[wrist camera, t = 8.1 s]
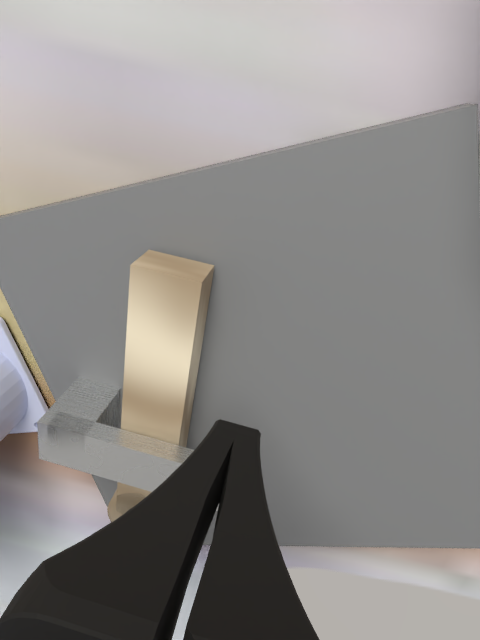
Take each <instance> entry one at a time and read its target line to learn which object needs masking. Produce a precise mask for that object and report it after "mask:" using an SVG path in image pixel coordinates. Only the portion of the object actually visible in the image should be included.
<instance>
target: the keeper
mask: <svg viewBox="0 0 480 640" xmlns="http://www.w3.org/2000/svg"><path fill="white" fill-rule="evenodd" d="M119 406H120V388H117V387H114V386H110V385H106V384H103V383H99V382H95V381H92V380H88V379H85V378H81V377H78V378H77V379H76V381H75V382H74V383H73V384H72V385H71V386H70V387H69V388H68V389H67V390H66V391H65V392H64V393H63V395H62V396H61V397H60V398H59V399H58V400H57V401H56V402H55V403H54V404H53V405H52V406H51V408H50V409H49V410H48V411H47V412H46V413H45V414H44V415H43V416H42V417H41V418H40V419H39V420H38V422H37V428H38V446H39V459H42V460H45V461H49V462H52V463H55V464H59V465H62V466H66V467H69V468H72V469H76V470H79V471H82V472H86V473H89V474H93V475H96V476H99V477H103V478H106V479H109V480H113V481H116V482H120V483H123V484H126V485H130V486H133V487H137V488H140V489H143V490H147V491H150V492H153V491H154V490H155V489H156V488H157V487H158V486H159V485H161V484H162V483H163V482H164V481H165V480H166V479H167V478H168V477H169V476H170V475H171V474H172V473H173V472H174V471H175V470H176V469H177V468H178V467H179V466H180V465H181V464H182V463H183V462H184V461H185V460H186V459H187V458H188V457H189V456H190V454H191V453H192V452H193V451H194V450H193V449H189V448H186V447H182V446H179V445H175V444H172V443H168V442H165V441H161V440H158V439H154V438H151V437H147V436H144V435H140V434H136V433H133V432H129V431H126V430H122V429H119V428H115V427H116V425H117V424H118V422H119ZM218 506H219V504H218ZM216 511H218V507H217V509H216Z"/></svg>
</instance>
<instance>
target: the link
mask: <svg viewBox="0 0 480 640" xmlns="http://www.w3.org/2000/svg"><path fill="white" fill-rule="evenodd" d="M213 272H214V265H211V264H207V263H203V262H199V261H194V260H190V259H186V258H182V257H178V256H174V255H169V254H165V253H161V252H157V251H153V250H148V251H147V252H145V253H144V254H143V255H142V256H141V257H139V258H138V259H137V260H136V261H134V262H133V263H132V264H131V265H130V280H129V297H128V314H127V331H126V347H125V364H124V381H123V398H122V415H121V429H122V430H126V431H129V432H133V433H136V434H140V435H144V436H147V437H151V438H154V439H158V440H161V441H165V442H168V443H172V444H175V445H179V446H182V447H186V445H187V438H188V432H189V426H190V419H191V413H192V406H193V400H194V393H195V387H196V381H197V374H198V368H199V361H200V355H201V349H202V342H203V336H204V329H205V323H206V317H207V310H208V304H209V297H210V291H211V285H212V278H213ZM150 493H151V492H150V491H147V490H143V489H140V488H137V487H133V486H130V485H126V484H123V483H120V482H118V483H117V490H116V492H115V493H114V495H113V497H112V499H111V500H110V502H109V504H108V509H107V510H108V516H109V519H110V520H111V522H113V521H114V520H116V519H117V518H119V517H120V516H122V515H123V514H124V513H126V512H127V511H128V510H130V509H131V508H132V507H134V506H135V505H136V504H138V503H139V502H140V501H142V500H143V499H144V498H145V497H147V496H148V495H149V494H150Z"/></svg>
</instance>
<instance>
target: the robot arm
mask: <svg viewBox="0 0 480 640" xmlns="http://www.w3.org/2000/svg"><path fill="white" fill-rule="evenodd" d="M48 410H49V409H48V407H47V405H46V403H45V401H44V399H43V397H42V395H41V393H40V391H39V389H38V387H37V385H36V383H35V381H34V379H33V377H32V375H31V373H30V371H29V369H28V367H27V365H26V363H25V361H24V359H23V357H22V355H21V353H20V351H19V349H18V347H17V345H16V343H15V341H14V339H13V337H12V335H11V333H10V331H9V329H8V327H7V325H6V323H5V321H4V320H3V319H2V318H1V317H0V441H1V440H2V439H3V438H4V437H5V436H6V435H7V434H12V433H26V432H38V428H37V422H38V420H39V419H40V418H41V417H42V416H43V415H44V414H45V413H46V412H47V411H48ZM260 437H261V433H260V432H259V430H257V429H254V428H250V427H246V426H243V425H239V424H236V423H232V422H228V421H225V420H221V419H219V420H217V421H215V423H214V425H213V427H212V428H211V430H210V431H209V432H208V434H207V435H206V437H205V438H204V439H203V440H202V442H201V443H200V444H199V445H198V447H197V448H196V449H195V450H194V451H193V452H192V453H191V454H190V456H189V457H188V458H187V459H186V460H185V461H184V462H183V463H182V464H181V465H180V466H179V467H178V468H177V469H176V470H175V471H174V472H173V473H172V474H171V475H170V476H169V477H168V478H167V479H166V480H165V481H164V482H163V483H162V484H161V485H159V486H158V487H157V488H156V489H155V490H154V491H153V492H151V493H150V494H149V495H148V496H147V497H145V498H144V499H143V500H142V501H140V502H139V503H138V504H136V505H135V506H134V507H132V508H131V509H130V510H128V511H127V512H126V513H124V514H123V515H122V516H120V517H119V518H117V519H116V520H114V521H113V522H111V523H110V524H108V525H107V526H105V527H103V528H102V529H100V530H99V531H97V532H95V533H94V534H92V535H91V536H89V537H87V538H86V539H84V540H82V541H81V542H79V543H77V544H75V545H73V546H71V547H70V548H68V549H66V550H64V551H62V552H60V553H58V554H56V555H54V556H52V557H50V558H49V559H47V560H45V561H43V562H42V563H41V564H40V565H39V567H38V568H37V569H36V570H35V571H34V572H33V573H32V574H31V576H30V577H29V578H28V579H27V580H26V582H25V583H24V584H23V585H22V587H21V588H20V589H19V590H18V592H17V593H16V594H15V596H14V597H13V599H12V601H11V602H10V604H9V605H8V607H7V608H6V610H5V612H4V613H3V615H2V616H1V618H0V640H172V636H173V633H174V629H175V626H176V623H177V619H178V616H179V612H180V609H181V606H182V602H183V599H184V596H185V592H186V589H187V585H188V582H189V580H190V577H191V574H192V571H193V568H194V566H195V563H196V561H197V558H198V555H199V553H200V550H201V548H202V545H203V543H204V540H205V538H206V535H207V533H208V530H209V527H210V525H211V522H212V520H213V517H214V515H215V512H216V509H217V507H218V512H217V517H216V523H215V528H214V533H213V539H212V543H211V546H210V550H209V553H208V557H207V560H206V563H205V567H204V570H203V573H202V577H201V580H200V583H199V587H198V590H197V593H196V596H195V600H194V603H193V606H192V610H191V613H190V616H189V619H188V623H187V626H186V630H185V634H184V639H183V640H319V638H318V636H317V634H316V632H315V631H314V629H313V627H312V625H311V623H310V621H309V619H308V617H307V615H306V612H305V610H304V608H303V606H302V604H301V602H300V599H299V597H298V595H297V593H296V590H295V588H294V585H293V583H292V580H291V578H290V575H289V573H288V570H287V568H286V565H285V563H284V560H283V557H282V554H281V551H280V548H279V545H278V542H277V539H276V536H275V532H274V529H273V525H272V521H271V517H270V513H269V509H268V505H267V500H266V495H265V490H264V483H263V477H262V469H261V458H260ZM218 504H219V506H218Z"/></svg>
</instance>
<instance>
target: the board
mask: <svg viewBox="0 0 480 640" xmlns="http://www.w3.org/2000/svg"><path fill="white" fill-rule="evenodd" d="M148 250H153V251H157V252H161V253H165V254H169V255H174V256H178V257H182V258H186V259H190V260H194V261H199V262H203V263H207V264H211V265H214V272H213V278H212V285H211V291H210V297H209V304H208V310H207V317H206V323H205V329H204V336H203V342H202V349H201V355H200V361H199V368H198V374H197V381H196V387H195V393H194V400H193V406H192V413H191V419H190V426H189V432H188V438H187V445H186V448H189V449H193V450H195V449H196V448H197V447H198V445H199V444H200V443H201V442H202V440H203V439H204V438H205V437H206V435H207V434H208V432H209V431H210V430H211V428H212V427H213V425H214V423H215V421H217V420H219V419H221V420H225V421H228V422H232V423H236V424H239V425H243V426H246V427H250V428H254V429H257V430H259V432H260V433H261V437H260V458H261V469H262V477H263V483H264V490H265V495H266V500H267V505H268V509H269V513H270V517H271V521H272V525H273V529H274V532H275V536H276V539H277V542H278V545H279V546H332V547H410V548H480V185H479V141H478V104H463V105H459V106H455V107H450V108H446V109H442V110H438V111H434V112H430V113H425V114H421V115H417V116H413V117H409V118H405V119H401V120H396V121H392V122H388V123H384V124H380V125H376V126H372V127H367V128H363V129H359V130H355V131H351V132H347V133H343V134H338V135H334V136H330V137H326V138H322V139H318V140H313V141H309V142H305V143H301V144H297V145H293V146H289V147H284V148H280V149H276V150H272V151H268V152H264V153H260V154H255V155H251V156H247V157H243V158H239V159H235V160H231V161H226V162H222V163H218V164H214V165H210V166H206V167H201V168H197V169H193V170H189V171H185V172H181V173H177V174H172V175H168V176H164V177H160V178H156V179H152V180H148V181H143V182H139V183H135V184H131V185H127V186H123V187H119V188H114V189H110V190H106V191H102V192H98V193H94V194H89V195H85V196H81V197H77V198H73V199H69V200H65V201H60V202H56V203H52V204H48V205H44V206H40V207H36V208H31V209H27V210H23V211H19V212H15V213H11V214H7V215H2V216H0V288H1V290H2V292H3V294H4V296H5V298H6V300H7V302H8V304H9V306H10V309H11V311H12V313H13V315H14V317H15V319H16V321H17V323H18V325H19V327H20V329H21V331H22V333H23V335H24V337H25V339H26V341H27V343H28V345H29V347H30V349H31V351H32V354H33V356H34V358H35V360H36V362H37V364H38V366H39V368H40V370H41V372H42V374H43V376H44V378H45V380H46V382H47V384H48V386H49V388H50V390H51V392H52V394H53V396H54V399H55V401H57V400H58V399H59V398H60V397H61V396H62V395H63V393H64V392H65V391H66V390H67V389H68V388H69V387H70V386H71V385H72V384H73V383H74V382H75V381H76V379H77V378H78V377H81V378H85V379H88V380H92V381H95V382H99V383H103V384H106V385H110V386H114V387H117V388H120V406H119V422H118V424H117V425H116V427H115V428H119V429H121V415H122V398H123V381H124V364H125V347H126V331H127V314H128V297H129V280H130V265H131V264H132V263H133V262H134V261H136V260H137V259H138V258H139V257H141V256H142V255H143V254H144V253H145V252H147V251H148ZM92 476H93V478H94V480H95V482H96V484H97V486H98V489H99V491H100V493H101V495H102V497H103V499H104V501H105V503H106V505H107V507H108V504H109V502H110V500H111V499H112V497H113V495H114V493H115V492H116V490H117V483H118V482H116V481H113V480H109V479H106V478H103V477H99V476H96V475H93V474H92ZM217 512H218V511H216V512H215V515H214V517H213V520H212V522H211V525H210V527H209V530H208V533H207V535H206V538H205V540H204V543H203V545H211V543H212V539H213V533H214V528H215V523H216V517H217Z"/></svg>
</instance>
